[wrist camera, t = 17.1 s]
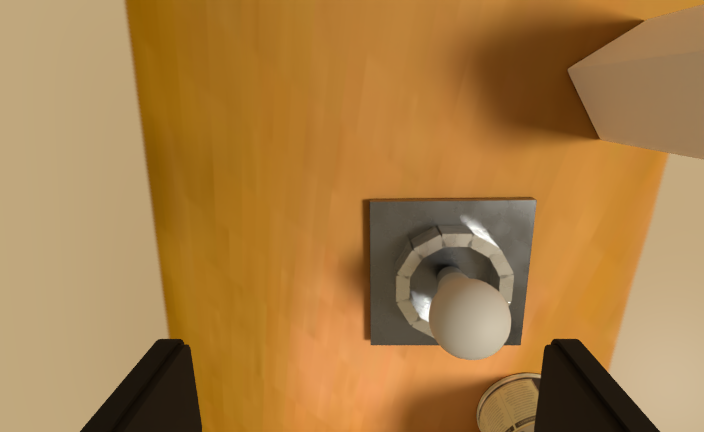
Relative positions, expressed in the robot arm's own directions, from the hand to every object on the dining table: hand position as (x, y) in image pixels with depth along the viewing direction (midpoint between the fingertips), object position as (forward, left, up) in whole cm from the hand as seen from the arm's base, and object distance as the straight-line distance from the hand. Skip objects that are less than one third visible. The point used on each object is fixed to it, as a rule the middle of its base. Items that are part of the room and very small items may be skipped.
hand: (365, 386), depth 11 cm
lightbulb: (+9, +8, -28) cm, 30 cm away
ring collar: (+10, +8, -28) cm, 31 cm away
